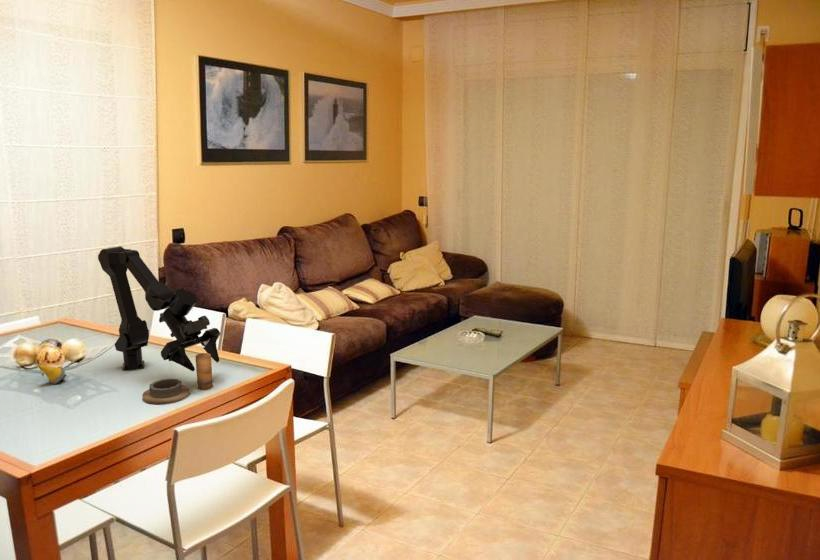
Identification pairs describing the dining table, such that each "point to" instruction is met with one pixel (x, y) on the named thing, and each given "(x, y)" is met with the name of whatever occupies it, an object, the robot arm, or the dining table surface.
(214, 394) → the dining table surface
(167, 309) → the robot arm
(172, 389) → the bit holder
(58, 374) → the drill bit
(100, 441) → the dining table surface
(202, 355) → the handle
